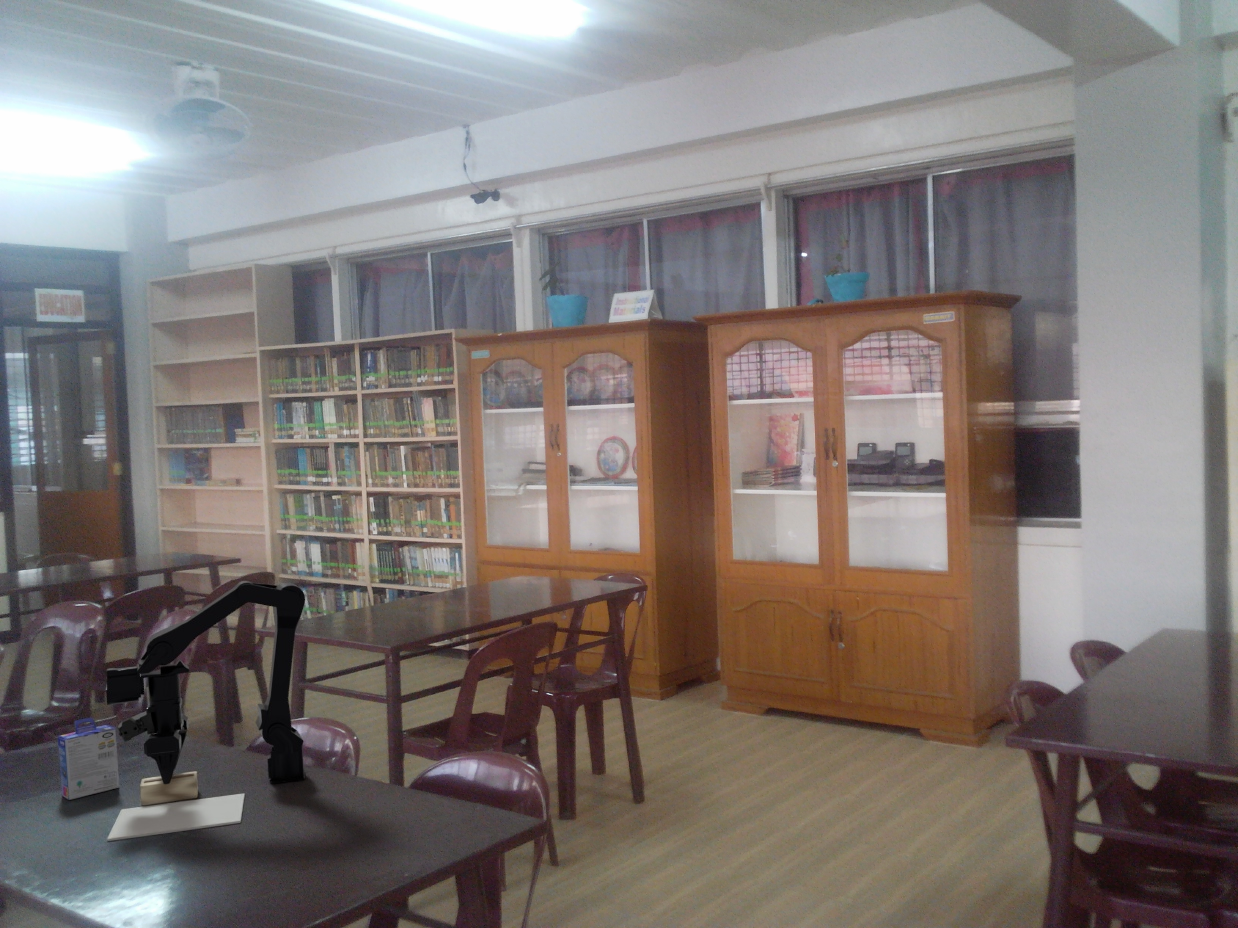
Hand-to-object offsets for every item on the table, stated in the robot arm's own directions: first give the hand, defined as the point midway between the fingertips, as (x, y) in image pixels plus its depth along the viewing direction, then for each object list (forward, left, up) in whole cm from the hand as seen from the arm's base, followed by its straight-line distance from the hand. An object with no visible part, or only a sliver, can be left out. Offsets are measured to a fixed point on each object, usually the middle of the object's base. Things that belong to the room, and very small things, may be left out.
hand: (169, 776), depth 211 cm
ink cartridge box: (+16, -11, -4) cm, 20 cm away
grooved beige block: (0, 0, -4) cm, 4 cm away
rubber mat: (-3, +13, -4) cm, 14 cm away
